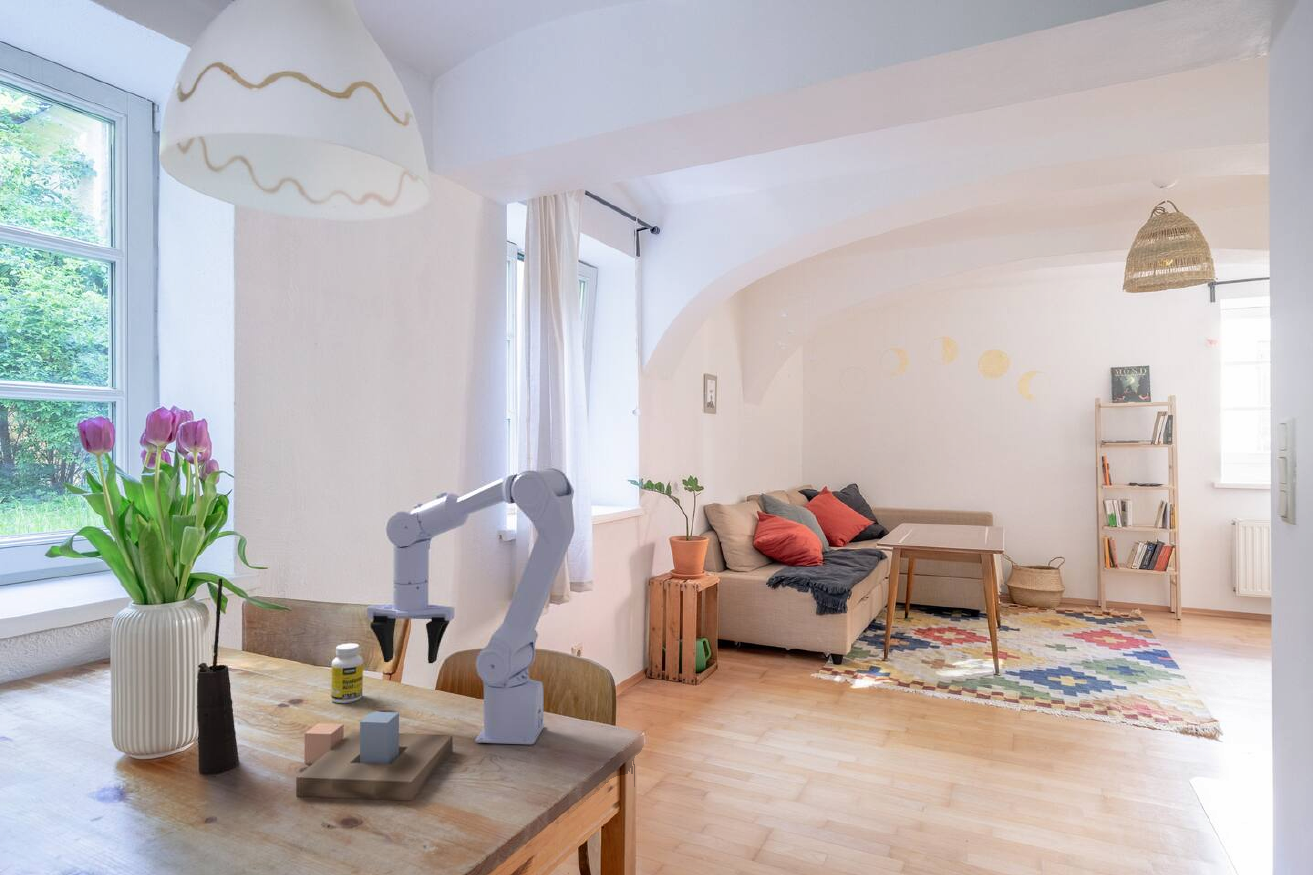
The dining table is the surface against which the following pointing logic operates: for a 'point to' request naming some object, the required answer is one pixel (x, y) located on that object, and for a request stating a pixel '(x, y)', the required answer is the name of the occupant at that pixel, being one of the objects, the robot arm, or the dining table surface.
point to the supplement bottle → (347, 674)
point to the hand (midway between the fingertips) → (410, 661)
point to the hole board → (375, 769)
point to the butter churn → (215, 712)
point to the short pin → (321, 740)
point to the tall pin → (379, 738)
